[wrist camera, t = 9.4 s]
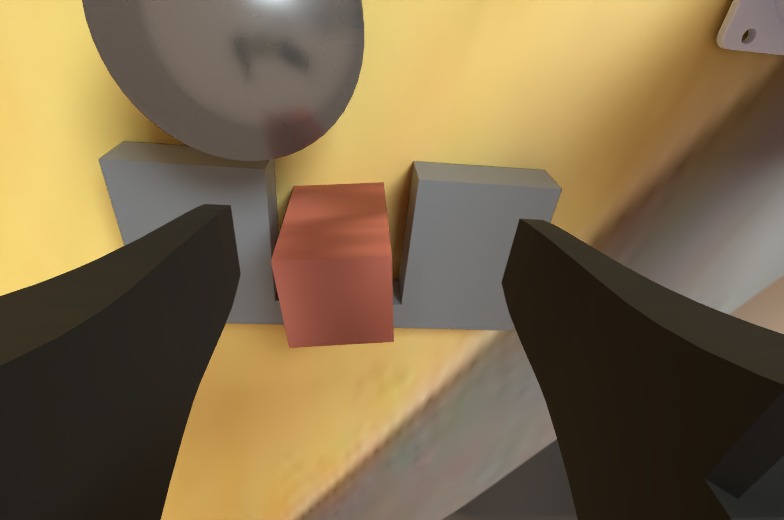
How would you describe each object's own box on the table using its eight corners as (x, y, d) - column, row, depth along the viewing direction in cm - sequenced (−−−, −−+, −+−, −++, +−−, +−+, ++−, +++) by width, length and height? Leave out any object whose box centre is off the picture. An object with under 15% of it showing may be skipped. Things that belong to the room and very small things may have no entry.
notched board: (544, 170, 19) (562, 188, 18) (502, 305, 24) (513, 330, 22) (123, 141, 17) (98, 159, 16) (163, 294, 22) (147, 320, 20)
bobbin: (369, -98, 14) (373, -130, 9) (358, 122, 17) (357, 168, 13) (138, -129, 13) (33, -177, 9) (180, 108, 17) (121, 152, 13)
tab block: (383, 182, 19) (391, 255, 14) (385, 256, 21) (393, 341, 16) (294, 185, 19) (270, 261, 14) (306, 260, 21) (289, 347, 16)
